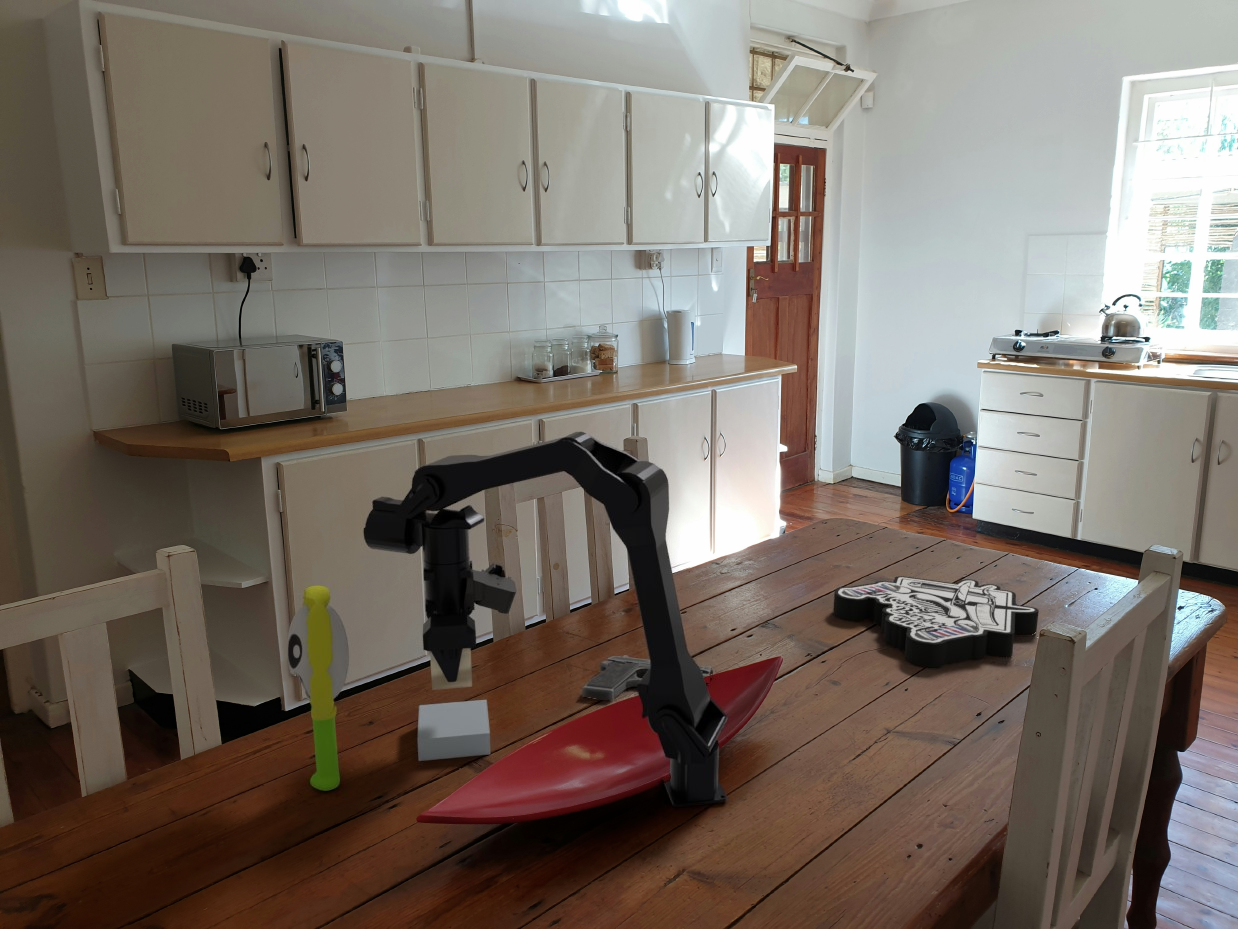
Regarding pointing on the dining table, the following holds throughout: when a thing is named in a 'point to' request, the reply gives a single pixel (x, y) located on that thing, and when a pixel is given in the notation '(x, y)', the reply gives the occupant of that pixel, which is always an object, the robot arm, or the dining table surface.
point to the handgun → (621, 677)
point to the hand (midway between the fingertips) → (452, 672)
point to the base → (453, 730)
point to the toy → (320, 674)
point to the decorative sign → (939, 618)
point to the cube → (463, 674)
